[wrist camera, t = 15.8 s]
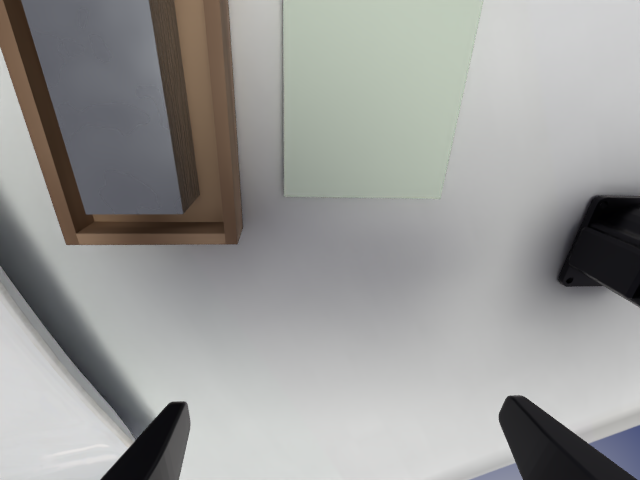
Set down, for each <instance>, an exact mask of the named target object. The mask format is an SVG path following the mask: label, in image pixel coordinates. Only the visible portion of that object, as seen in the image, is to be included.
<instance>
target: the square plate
mask: <svg viewBox="0 0 640 480" xmlns="http://www.w3.org/2000/svg"><path fill="white" fill-rule="evenodd" d="M134 441H135V438H134V437H133V435H132V434H131V432H130V431H129V429H128V428H127V427H126V425H125V424H124V423H123V421H122V420H121V419H120V417H119V416H118V415H117V413H116V412H115V411H114V410H113V408H112V407H111V406H110V405H109V404H108V403H107V402H106V400H105V399H104V398H103V397H102V396H101V395H100V394H99V392H98V391H97V390H96V389H95V388H94V387H93V386H92V385H91V383H90V382H89V381H88V380H87V379H86V378H85V376H84V375H83V374H82V373H81V372H80V371H79V369H78V368H77V367H76V366H75V365H74V364H73V362H72V361H71V360H70V359H69V357H68V356H67V355H66V354H65V352H64V351H63V350H62V348H61V347H60V346H59V345H58V343H57V342H56V341H55V339H54V338H53V337H52V335H51V334H50V333H49V332H48V330H47V329H46V328H45V326H44V325H43V324H42V322H41V321H40V320H39V318H38V317H37V316H36V314H35V313H34V312H33V310H32V309H31V308H30V306H29V305H28V303H27V302H26V301H25V299H24V298H23V297H22V295H21V294H20V293H19V291H18V290H17V289H16V287H15V286H14V284H13V283H12V282H11V280H10V279H9V277H8V276H7V275H6V273H5V272H4V270H3V269H2V268H1V266H0V480H100V479H101V478H102V477H103V476H104V475H105V474H106V473H107V471H108V470H109V469H110V468H111V467H112V466H113V465H114V464H115V463H116V461H117V460H118V459H119V458H120V457H121V456H122V455H123V454H124V453H125V451H126V450H127V449H128V448H129V447H130V446H131V445H132V444H133V443H134Z"/></svg>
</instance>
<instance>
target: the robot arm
mask: <svg viewBox="0 0 640 480" xmlns="http://www.w3.org/2000/svg"><path fill="white" fill-rule="evenodd" d="M558 281H559V283H561V284H562V285H564V286H566V287H572V286H605V287H606V288H608V289H610V290H611V291H613V292H615V293H616V294H618V295H620V296H621V297H623V298H625V299H627V300H628V301H630V302H632V303H633V304H635V305H637V306H638V307H640V196H598V197H596V198H594V199H593V200H592V202H591V204H590V206H589V209H588V211H587V213H586V215H585V218H584V220H583V222H582V225H581V227H580V229H579V232H578V234H577V236H576V239H575V241H574V243H573V245H572V248H571V250H570V252H569V255H568V257H567V259H566V262H565V264H564V266H563V269H562V271H561V273H560V276H559V278H558ZM499 422H500V425H501V427H502V430H503V432H504V435H505V437H506V440H507V442H508V444H509V447H510V449H511V452H512V454H513V457H514V459H515V462H516V464H517V466H518V469H519V471H520V474H521V476H522V478H523V480H637V479H636V478H634V477H633V476H632V475H630V474H629V473H627V472H626V471H625V470H623V469H622V468H621V467H619V466H618V465H617V464H615V463H614V462H613V461H611V460H610V459H608V458H607V457H606V456H604V455H603V454H602V453H600V452H599V451H598V450H596V449H595V448H594V447H592V446H591V445H589V444H588V443H587V442H585V441H584V440H583V439H581V438H580V437H579V436H577V435H576V434H575V433H573V432H572V431H570V430H569V429H568V428H566V427H565V426H564V425H562V424H561V423H560V422H558V421H557V420H556V419H554V418H553V417H551V416H550V415H549V414H547V413H546V412H545V411H543V410H542V409H541V408H539V407H538V406H537V405H535V404H534V403H532V402H531V401H530V400H528V399H527V398H525V397H524V396H520V395H514V396H508V397H507V398H506V399H505V402H504V404H503V406H502V408H501V410H500V412H499ZM189 431H190V416H189V410H188V404H187V403H186V402H184V401H182V402H171V403H169V404H168V405H167V406H166V407H165V408H164V409H163V410H162V411H161V413H160V414H159V415H158V416H157V417H156V418H155V419H154V420H153V421H152V423H151V424H150V425H149V426H148V427H147V428H146V429H145V430H144V431H143V433H142V434H141V435H140V436H139V437H138V438H137V439H136V440H135V441H134V443H133V444H132V445H131V446H130V447H129V448H128V449H127V450H126V451H125V453H124V454H123V455H122V456H121V457H120V458H119V459H118V460H117V461H116V463H115V464H114V465H113V466H112V467H111V468H110V469H109V470H108V471H107V473H106V474H105V475H104V476H103V477H102V478H101V479H100V480H179V476H180V472H181V467H182V463H183V459H184V454H185V450H186V445H187V441H188V436H189Z"/></svg>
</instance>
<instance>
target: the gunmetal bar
mask: <svg viewBox="0 0 640 480" xmlns="http://www.w3.org/2000/svg"><path fill="white" fill-rule="evenodd" d="M21 1H22V5H23V8H24V11H25V15H26V18H27V21H28V25H29V28H30V31H31V35H32V38H33V41H34V44H35V48H36V51H37V54H38V58H39V61H40V64H41V68H42V71H43V74H44V77H45V81H46V84H47V87H48V91H49V94H50V97H51V101H52V104H53V107H54V110H55V114H56V117H57V120H58V124H59V127H60V130H61V134H62V137H63V140H64V144H65V147H66V150H67V153H68V157H69V160H70V163H71V167H72V170H73V173H74V177H75V180H76V183H77V186H78V190H79V193H80V196H81V200H82V203H83V206H84V210H85V213H86V215H89V214H184V213H185V212H186V210H187V209H188V208H189V207H190V206H191V205H192V203H193V202H194V201H195V200H196V199H197V198H198V196H199V195H200V190H199V183H198V175H197V168H196V160H195V153H194V145H193V138H192V130H191V123H190V115H189V108H188V100H187V93H186V85H185V78H184V70H183V63H182V55H181V48H180V41H179V33H178V26H177V18H176V11H175V3H174V0H21Z"/></svg>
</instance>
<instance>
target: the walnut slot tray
mask: <svg viewBox="0 0 640 480" xmlns="http://www.w3.org/2000/svg"><path fill="white" fill-rule="evenodd" d="M174 3H175V11H176V18H177V26H178V33H179V41H180V48H181V55H182V63H183V70H184V78H185V85H186V93H187V100H188V108H189V115H190V123H191V130H192V138H193V145H194V153H195V160H196V168H197V175H198V183H199V190H200V195H199V196H198V198H197V199H196V200H195V201H194V202H193V203H192V205H191V206H190V207H189V208H188V209H187V210H186V212H185V213H184V214H89V215H86V213H85V210H84V206H83V203H82V200H81V196H80V193H79V190H78V186H77V183H76V180H75V177H74V173H73V170H72V167H71V163H70V160H69V157H68V153H67V150H66V147H65V144H64V140H63V137H62V134H61V130H60V127H59V124H58V120H57V117H56V114H55V110H54V107H53V104H52V101H51V97H50V94H49V91H48V87H47V84H46V81H45V77H44V74H43V71H42V68H41V64H40V61H39V58H38V54H37V51H36V48H35V44H34V41H33V38H32V35H31V31H30V28H29V25H28V21H27V18H26V15H25V11H24V8H23V5H22V1H21V0H0V47H1V50H2V53H3V56H4V59H5V62H6V65H7V68H8V71H9V74H10V77H11V80H12V83H13V86H14V89H15V92H16V95H17V98H18V101H19V104H20V107H21V110H22V113H23V116H24V119H25V122H26V125H27V128H28V131H29V134H30V137H31V140H32V143H33V146H34V149H35V152H36V155H37V158H38V161H39V164H40V167H41V170H42V173H43V176H44V179H45V182H46V185H47V188H48V191H49V194H50V197H51V200H52V203H53V206H54V209H55V212H56V215H57V218H58V221H59V224H60V227H61V230H62V233H63V236H64V239H65V242H66V245H179V244H238V241H239V238H240V235H241V232H242V229H243V224H242V209H241V193H240V178H239V162H238V147H237V131H236V116H235V100H234V85H233V69H232V54H231V38H230V23H229V7H228V0H174Z"/></svg>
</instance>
